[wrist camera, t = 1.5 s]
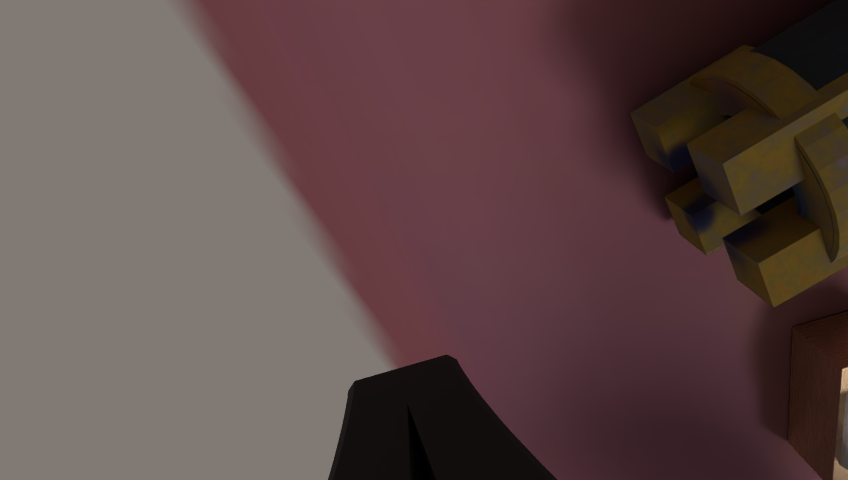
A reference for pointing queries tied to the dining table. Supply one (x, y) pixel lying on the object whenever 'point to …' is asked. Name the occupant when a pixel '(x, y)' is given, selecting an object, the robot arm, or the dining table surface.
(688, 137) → the pipe connector
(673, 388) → the dining table surface
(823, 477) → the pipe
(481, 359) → the dining table surface
